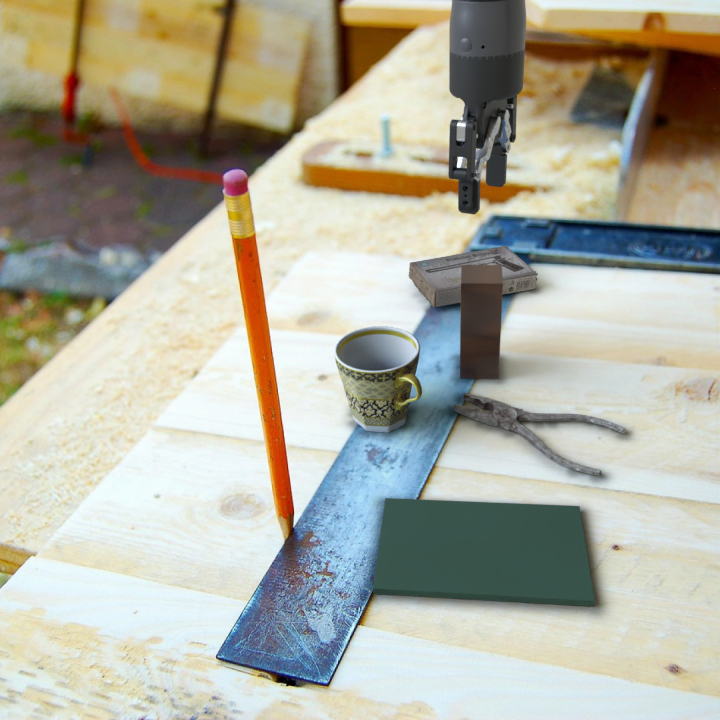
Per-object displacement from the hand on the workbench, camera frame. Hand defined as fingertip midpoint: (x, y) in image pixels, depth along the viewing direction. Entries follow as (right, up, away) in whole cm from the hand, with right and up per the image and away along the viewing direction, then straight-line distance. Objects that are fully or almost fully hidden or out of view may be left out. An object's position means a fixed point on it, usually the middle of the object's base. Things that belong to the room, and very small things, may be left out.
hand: (482, 198), depth 86 cm
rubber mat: (-2, -37, -10) cm, 38 cm away
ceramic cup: (-10, -26, +8) cm, 29 cm away
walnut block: (+2, -19, +16) cm, 25 cm away
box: (+4, -7, +35) cm, 36 cm away
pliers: (+6, -27, +4) cm, 28 cm away
